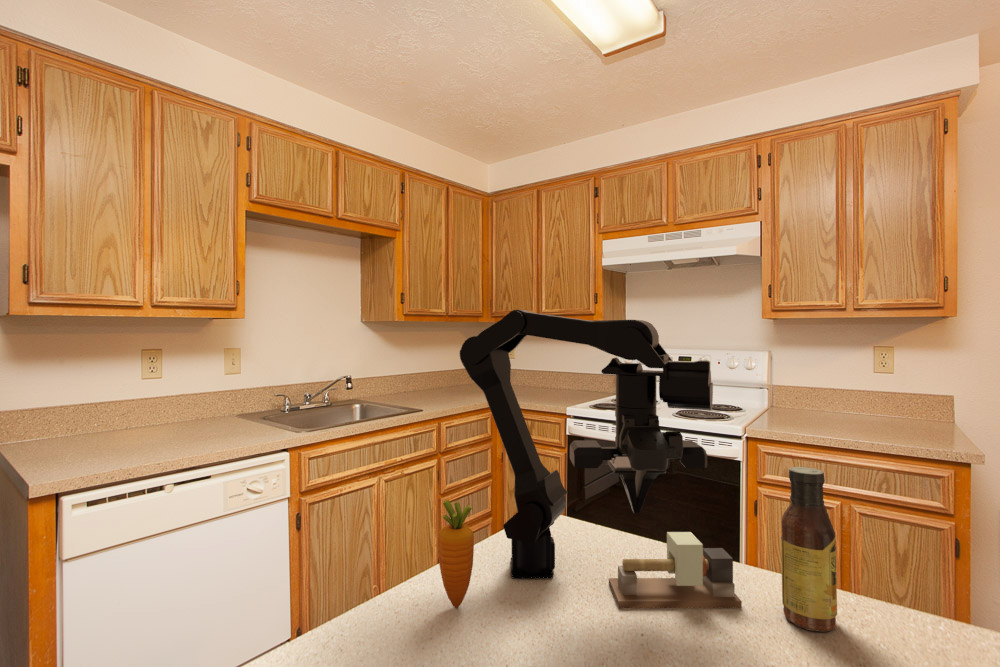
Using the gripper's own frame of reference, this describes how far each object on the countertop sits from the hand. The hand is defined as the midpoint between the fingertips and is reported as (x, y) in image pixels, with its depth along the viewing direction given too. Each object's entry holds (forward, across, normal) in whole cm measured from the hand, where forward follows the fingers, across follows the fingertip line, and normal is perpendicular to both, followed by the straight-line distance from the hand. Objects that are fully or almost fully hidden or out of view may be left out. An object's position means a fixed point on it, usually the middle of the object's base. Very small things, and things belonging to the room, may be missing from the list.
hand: (636, 512), depth 73 cm
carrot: (+12, -26, -4) cm, 29 cm away
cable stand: (+12, +5, 0) cm, 13 cm away
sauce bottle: (+12, +21, -6) cm, 25 cm away
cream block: (+9, +7, 0) cm, 12 cm away
